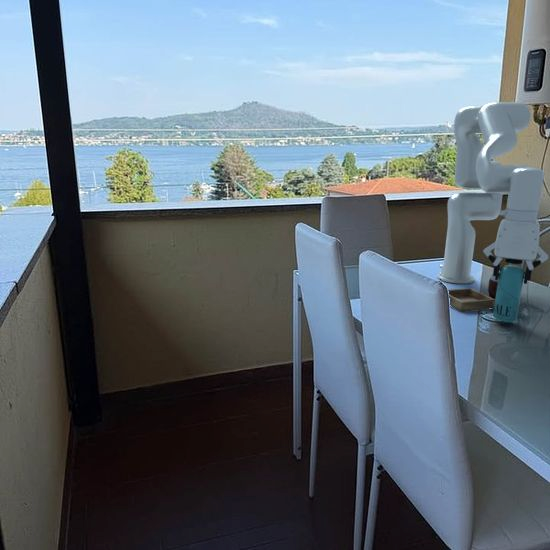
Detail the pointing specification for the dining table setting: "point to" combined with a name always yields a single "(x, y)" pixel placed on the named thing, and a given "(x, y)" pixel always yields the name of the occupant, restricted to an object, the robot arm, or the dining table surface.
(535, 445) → the dining table surface
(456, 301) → the tray
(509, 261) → the beverage bottle
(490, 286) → the mate gourd
